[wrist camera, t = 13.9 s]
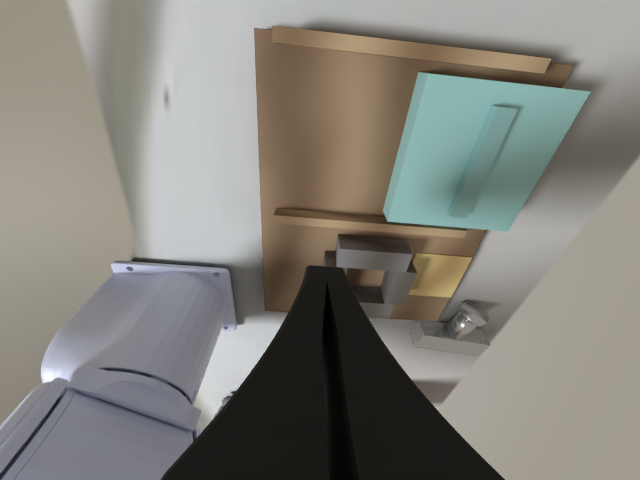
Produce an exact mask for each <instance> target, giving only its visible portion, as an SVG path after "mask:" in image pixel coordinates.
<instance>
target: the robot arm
mask: <svg viewBox="0 0 640 480" xmlns="http://www.w3.org/2000/svg"><path fill="white" fill-rule="evenodd" d="M111 267H112V270H113V272H114V274H113V275H112V276H110V278H109V279H108V280H107V281H106V282H105V283H104V284H103V285H102V286H101V287H100V288H99V289H98V290H97V291H96V292H95V293H94V294H93V295H92V296H91V297H90V298H89V299H88V300H87V301H86V302H85V303H84V304H83V305H82V306H81V308H80V309H79V310H78V311H77V312H76V313H75V314H74V315H73V316H72V317H71V318H70V319H69V320H68V321H67V322H66V323H65V324H64V325H63V326H62V327H61V328H60V330H59V331H58V332H57V334H56V335H55V336H54V338H53V339H52V341H51V343H50V345H49V347H48V349H47V351H46V353H45V356H44V359H43V362H42V366H41V378H42V383H43V384H40V385H37V386H36V387H35V388H34V389H33V390H32V391H31V392H30V393H29V395H28V396H27V397H26V398H25V399H24V400H23V401H22V402H21V403H20V404H19V406H18V407H17V408H16V409H15V410H14V411H13V412H12V413H11V415H10V416H9V417H8V418H7V419H6V420H5V421H4V422H3V424H2V425H1V426H0V480H505V479H504V478H502V476H501V475H499V473H497V472H496V471H495V470H494V469H493V468H492V467H491V466H490V465H489V464H488V463H487V462H486V461H485V460H484V459H483V458H482V457H481V456H480V455H479V454H478V453H477V452H476V451H475V450H474V449H473V448H472V447H471V446H470V445H469V444H468V443H467V442H466V441H465V440H464V439H463V438H462V436H461V435H460V434H459V433H457V431H456V430H455V429H454V428H453V427H452V426H451V425H450V424H449V423H448V422H447V420H446V419H445V418H444V417H443V416H442V415H441V414H440V413H439V412H438V410H437V409H436V408H435V407H434V406H433V405H432V404H431V402H430V401H429V400H428V399H427V398H426V397H425V395H424V394H423V393H422V392H421V391H420V390H419V389H418V387H417V386H416V385H415V384H414V383H413V381H412V380H411V379H410V378H409V376H408V375H407V374H406V373H405V371H404V370H403V369H402V367H401V366H400V365H399V364H398V362H397V361H396V359H395V358H394V357H393V355H392V354H391V353H390V351H389V350H388V348H387V347H386V346H385V344H384V343H383V341H382V340H381V338H380V337H379V335H378V333H377V332H376V330H375V329H374V327H373V326H372V324H371V322H370V321H369V319H368V317H367V316H366V314H365V312H364V310H363V308H362V307H361V305H360V303H359V301H358V299H357V297H356V295H355V293H354V291H353V289H352V287H351V285H350V283H349V281H348V278H347V276H346V273H345V271H344V269H343V268H341V267H328V266H314V265H309V266H307V267H306V269H305V274H304V278H303V281H302V284H301V286H300V289H299V292H298V294H297V296H296V298H295V300H294V302H293V305H292V307H291V309H290V311H289V313H288V314H287V316H286V318H285V320H284V322H283V323H282V325H281V327H280V329H279V330H278V332H277V334H276V335H275V337H274V339H273V340H272V342H271V343H270V345H269V346H268V348H267V350H266V351H265V353H264V354H263V356H262V357H261V358H260V360H259V361H258V363H257V364H256V365H255V367H254V368H253V370H252V371H251V372H250V374H249V375H248V376H247V378H246V379H245V380H244V382H243V383H242V384H241V386H240V387H239V388H238V390H237V391H236V392H235V393H234V394H233V396H232V397H231V398H230V399H229V401H228V402H227V403H226V404H225V405H224V407H223V408H222V409H221V410H220V412H219V413H218V414H217V415H216V416H215V418H214V419H213V420H212V421H211V422H210V424H209V425H208V426H207V427H206V428H205V429H204V430H203V432H202V431H201V429H200V428H198V427H196V425H197V422H198V419H199V416H200V413H201V410H200V409H198V408H196V407H194V406H193V404H194V401H195V399H196V396H197V393H198V391H199V388H200V385H201V382H202V380H203V377H204V374H205V372H206V369H207V366H208V363H209V361H210V358H211V355H212V353H213V350H214V347H215V344H216V342H217V339H218V336H219V334H220V331H234V330H236V327H237V323H236V315H235V308H234V300H233V293H232V285H231V278H230V272H229V271H228V270H227V269H225V268H215V267H201V266H187V265H173V264H158V263H144V262H130V261H115V262H113V263H112V264H111ZM131 267H132V268H131ZM216 273H219V274H216Z"/></svg>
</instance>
